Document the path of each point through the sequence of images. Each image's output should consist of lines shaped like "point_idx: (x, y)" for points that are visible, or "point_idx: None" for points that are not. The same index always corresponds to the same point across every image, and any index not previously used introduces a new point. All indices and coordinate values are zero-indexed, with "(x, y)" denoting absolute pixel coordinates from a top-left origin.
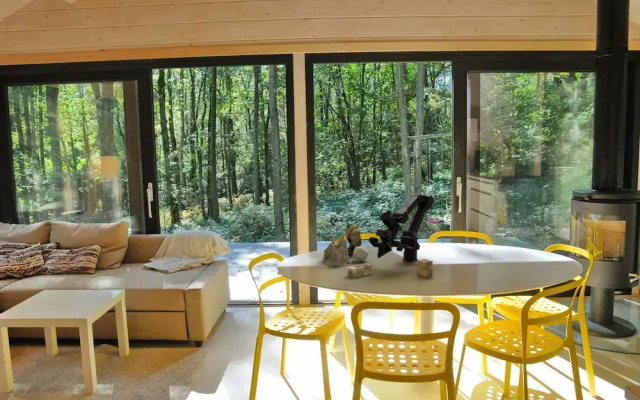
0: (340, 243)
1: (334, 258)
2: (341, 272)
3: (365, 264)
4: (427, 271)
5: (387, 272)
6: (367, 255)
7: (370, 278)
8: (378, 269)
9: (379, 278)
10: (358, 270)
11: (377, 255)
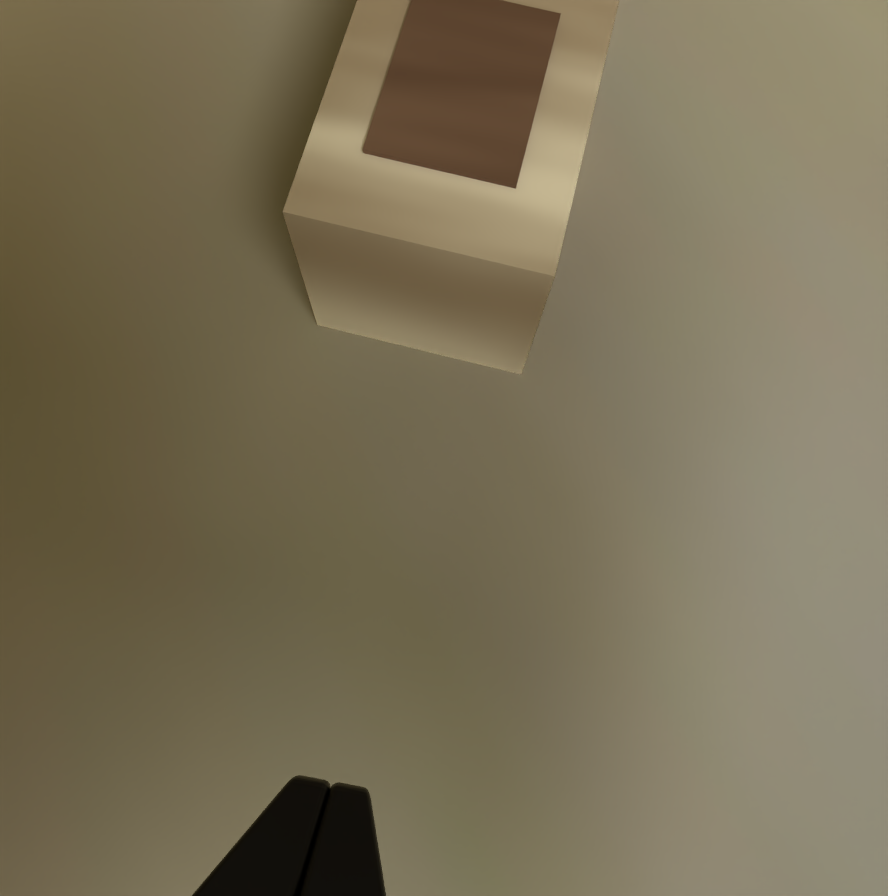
0: None
1: None
2: (875, 78)
3: (450, 128)
4: None
5: (27, 601)
6: None
7: (170, 14)
8: (360, 749)
9: (12, 92)
10: None
11: (372, 841)
